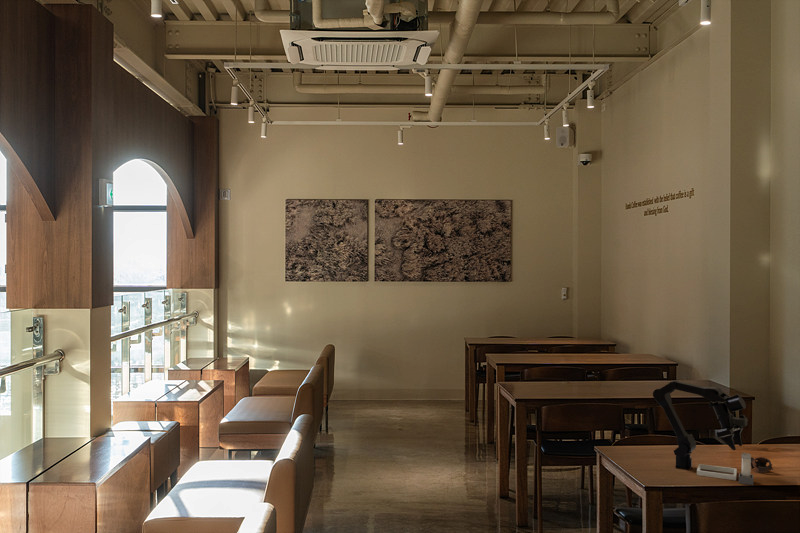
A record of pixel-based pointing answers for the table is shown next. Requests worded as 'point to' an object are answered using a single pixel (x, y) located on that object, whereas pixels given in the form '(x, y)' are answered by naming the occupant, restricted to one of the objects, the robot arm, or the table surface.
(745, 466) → the fuse
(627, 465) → the table surface
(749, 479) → the fuse holder
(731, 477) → the parts tray
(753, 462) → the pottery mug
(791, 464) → the table surface
